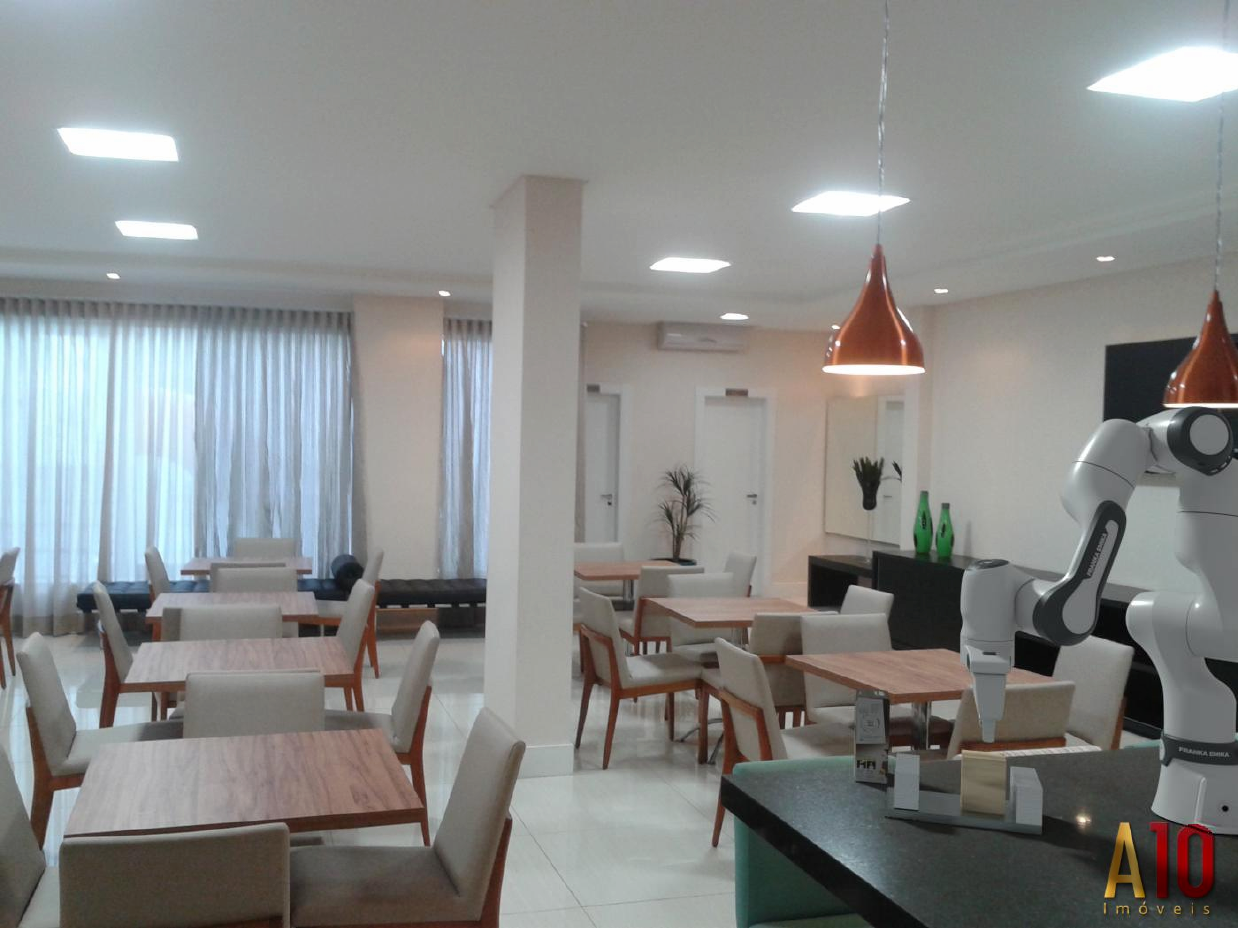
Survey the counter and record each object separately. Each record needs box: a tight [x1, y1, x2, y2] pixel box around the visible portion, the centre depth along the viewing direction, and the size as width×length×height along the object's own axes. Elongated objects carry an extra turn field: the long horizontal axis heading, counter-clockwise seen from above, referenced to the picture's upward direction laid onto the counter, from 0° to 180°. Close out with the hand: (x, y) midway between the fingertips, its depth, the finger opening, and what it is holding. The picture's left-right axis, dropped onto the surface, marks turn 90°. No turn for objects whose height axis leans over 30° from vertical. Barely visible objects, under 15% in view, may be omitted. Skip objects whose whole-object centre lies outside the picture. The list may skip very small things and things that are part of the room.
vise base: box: [884, 765, 1044, 836], centre depth 184 cm, size 25×13×8 cm, turn 74°
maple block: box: [960, 749, 1007, 814], centre depth 183 cm, size 5×7×9 cm
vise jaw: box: [893, 752, 921, 810], centre depth 186 cm, size 4×13×6 cm, turn 164°
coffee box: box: [853, 688, 891, 785], centre depth 205 cm, size 9×6×16 cm
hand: (986, 734), depth 183 cm, fingers open, 8 cm apart
